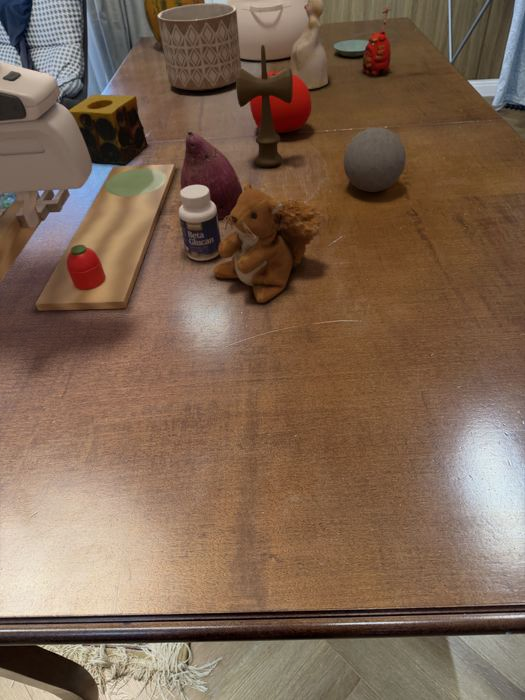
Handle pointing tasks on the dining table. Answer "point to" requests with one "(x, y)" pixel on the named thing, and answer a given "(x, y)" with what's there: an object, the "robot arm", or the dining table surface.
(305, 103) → the tomato
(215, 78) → the planter
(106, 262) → the board
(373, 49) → the red clay folk toy
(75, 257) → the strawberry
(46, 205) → the tan wooden bar
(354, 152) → the decorative ball
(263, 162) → the kendama
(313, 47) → the figurine
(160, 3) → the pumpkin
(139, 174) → the plate
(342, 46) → the saucer
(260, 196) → the stuffed squirrel
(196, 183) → the vegetable
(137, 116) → the spotted cube with hole
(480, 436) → the dining table surface
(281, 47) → the pot
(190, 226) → the pill bottle
